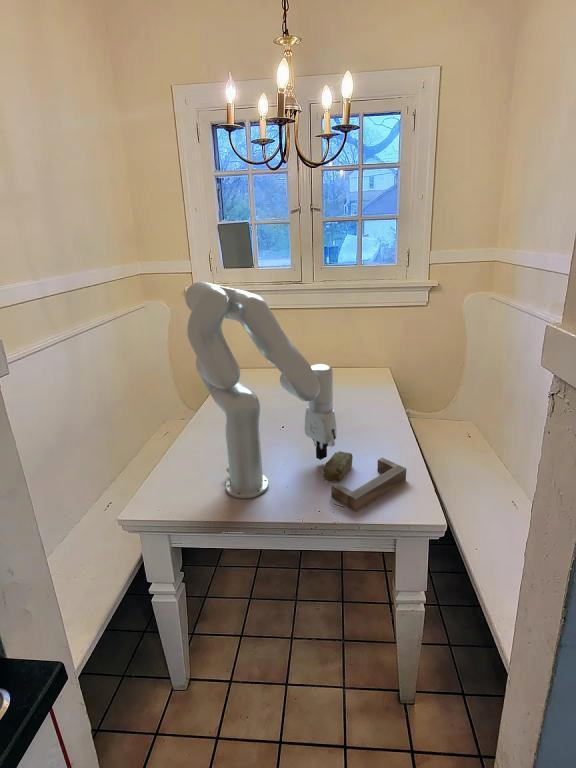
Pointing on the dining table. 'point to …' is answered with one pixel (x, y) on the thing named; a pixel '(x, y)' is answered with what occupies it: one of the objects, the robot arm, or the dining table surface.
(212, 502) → the dining table surface
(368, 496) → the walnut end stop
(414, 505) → the dining table surface
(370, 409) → the dining table surface
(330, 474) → the stone block
